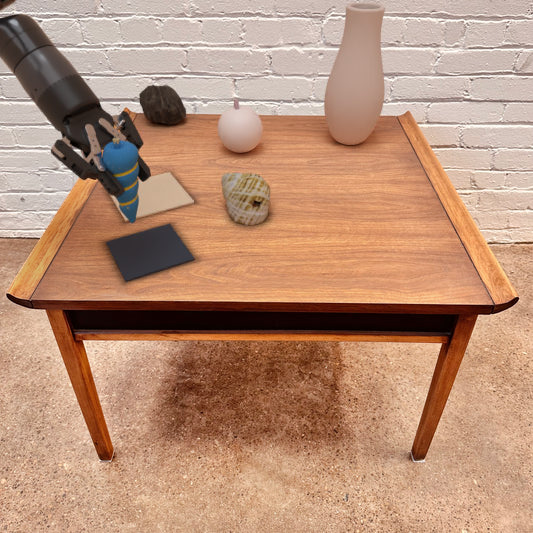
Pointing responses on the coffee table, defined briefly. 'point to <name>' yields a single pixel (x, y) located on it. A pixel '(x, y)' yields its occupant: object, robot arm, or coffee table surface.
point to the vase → (356, 76)
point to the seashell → (246, 197)
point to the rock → (162, 104)
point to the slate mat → (148, 252)
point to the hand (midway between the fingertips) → (134, 186)
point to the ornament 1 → (124, 174)
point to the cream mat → (158, 195)
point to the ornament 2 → (240, 128)
